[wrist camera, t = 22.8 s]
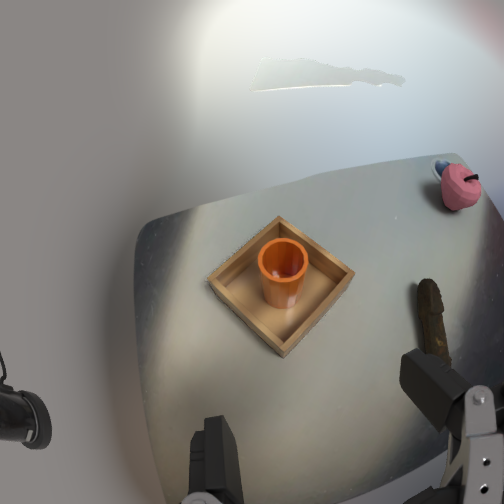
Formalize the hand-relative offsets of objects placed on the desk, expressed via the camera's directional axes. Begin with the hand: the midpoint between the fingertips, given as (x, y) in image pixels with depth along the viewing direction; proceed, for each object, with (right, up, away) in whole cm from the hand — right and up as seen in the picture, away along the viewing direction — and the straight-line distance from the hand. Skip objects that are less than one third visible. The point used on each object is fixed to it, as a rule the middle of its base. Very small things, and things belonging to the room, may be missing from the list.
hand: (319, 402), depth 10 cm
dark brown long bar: (+22, -7, +22) cm, 32 cm away
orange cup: (+1, +1, +28) cm, 28 cm away
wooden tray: (+1, +1, +29) cm, 29 cm away
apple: (+38, +16, +34) cm, 53 cm away
